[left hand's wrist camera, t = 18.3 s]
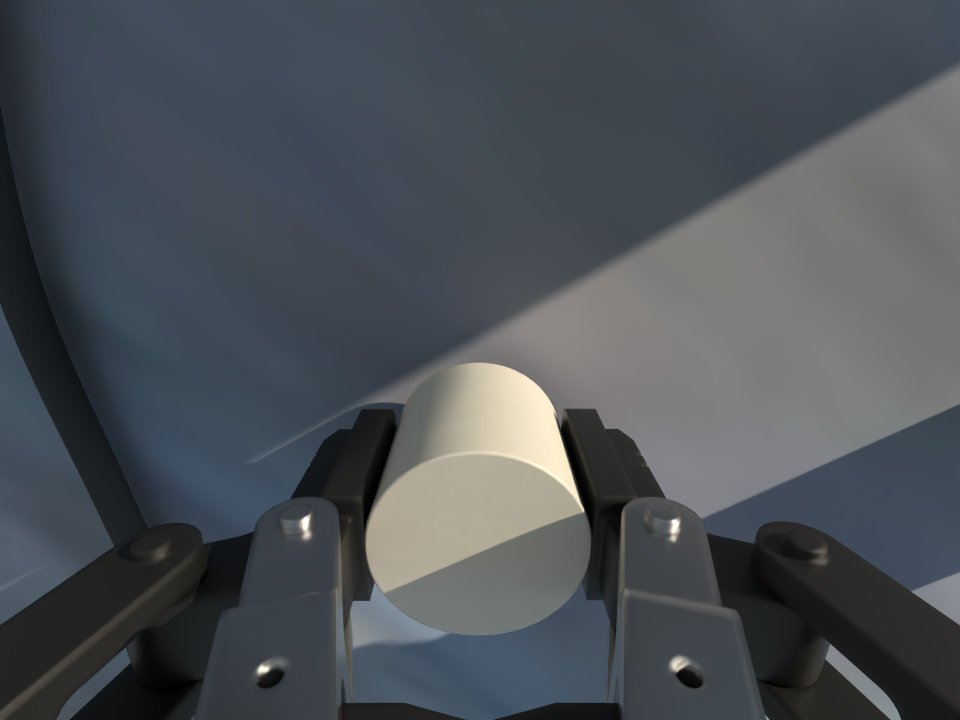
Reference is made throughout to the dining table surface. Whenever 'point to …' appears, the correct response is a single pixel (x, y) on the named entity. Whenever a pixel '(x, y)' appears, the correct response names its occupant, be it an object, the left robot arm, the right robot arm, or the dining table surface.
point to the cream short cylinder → (478, 506)
